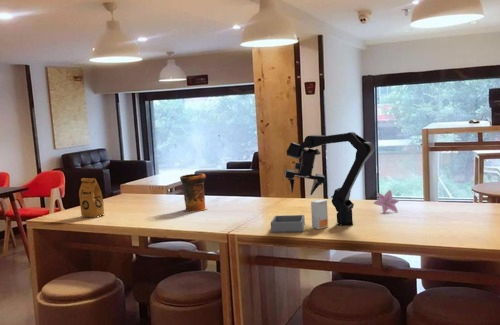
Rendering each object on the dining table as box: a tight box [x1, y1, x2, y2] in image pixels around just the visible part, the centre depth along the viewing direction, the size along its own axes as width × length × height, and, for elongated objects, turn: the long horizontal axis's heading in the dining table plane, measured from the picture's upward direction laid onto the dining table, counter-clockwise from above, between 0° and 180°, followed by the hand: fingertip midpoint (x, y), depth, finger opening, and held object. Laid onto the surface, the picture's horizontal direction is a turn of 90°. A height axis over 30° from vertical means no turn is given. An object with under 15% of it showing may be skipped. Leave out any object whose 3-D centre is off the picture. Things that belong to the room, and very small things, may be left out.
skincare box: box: [310, 199, 329, 230], centre depth 209 cm, size 6×4×12 cm
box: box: [270, 214, 306, 234], centre depth 211 cm, size 14×14×4 cm
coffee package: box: [78, 177, 105, 218], centre depth 268 cm, size 10×12×22 cm
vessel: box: [179, 173, 208, 213], centre depth 268 cm, size 14×14×20 cm
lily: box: [373, 189, 399, 214], centre depth 233 cm, size 12×12×10 cm
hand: (301, 193), depth 222 cm, fingers open, 9 cm apart
